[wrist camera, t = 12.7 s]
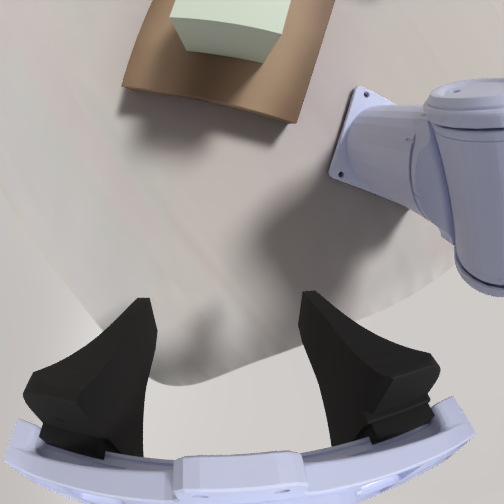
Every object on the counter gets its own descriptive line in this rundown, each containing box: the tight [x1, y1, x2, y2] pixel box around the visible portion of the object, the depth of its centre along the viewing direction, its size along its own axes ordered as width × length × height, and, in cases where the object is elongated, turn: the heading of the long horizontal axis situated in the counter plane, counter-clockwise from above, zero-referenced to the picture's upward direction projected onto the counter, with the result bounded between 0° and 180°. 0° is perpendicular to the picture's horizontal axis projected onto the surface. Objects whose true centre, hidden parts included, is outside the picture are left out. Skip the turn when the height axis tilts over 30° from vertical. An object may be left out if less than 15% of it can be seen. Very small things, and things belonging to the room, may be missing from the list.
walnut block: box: [122, 0, 335, 124], centre depth 14 cm, size 12×12×3 cm
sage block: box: [169, 0, 291, 64], centre depth 10 cm, size 5×5×6 cm
